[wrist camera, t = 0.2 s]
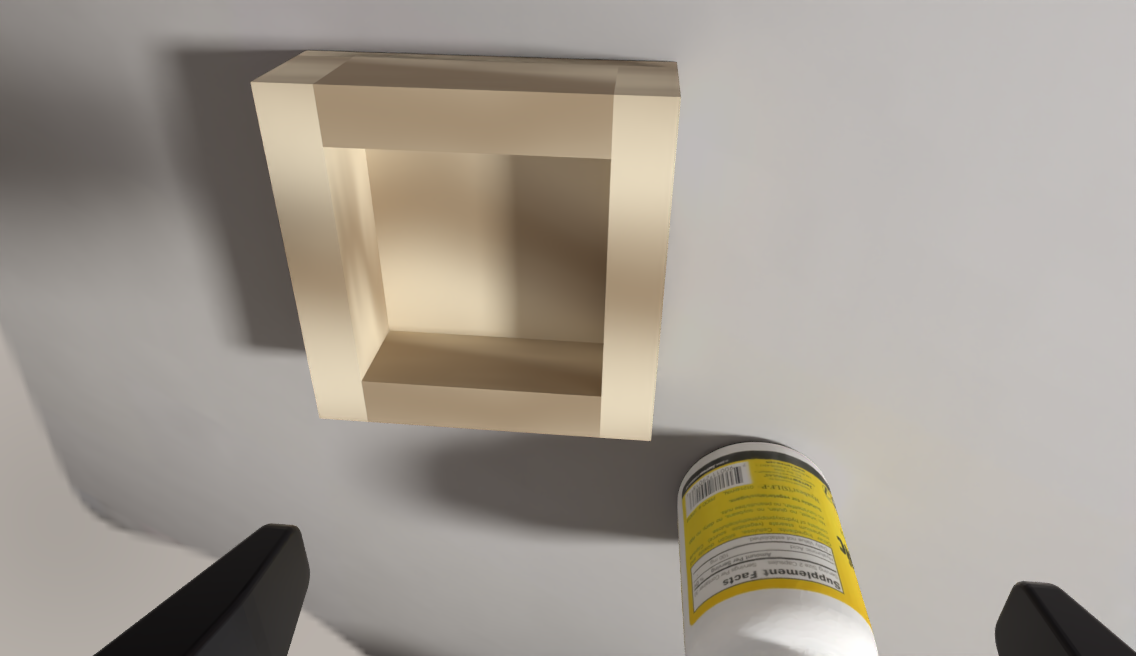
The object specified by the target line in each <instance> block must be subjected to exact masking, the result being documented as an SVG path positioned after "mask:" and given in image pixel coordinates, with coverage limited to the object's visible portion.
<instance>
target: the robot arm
mask: <svg viewBox="0 0 1136 656" xmlns="http://www.w3.org/2000/svg"><path fill="white" fill-rule="evenodd" d="M309 579H310V568H309V563H308V559H307V555H306V551H305V547H304V543H303V539H302V534H301V532H300V530H299V528H298V527H297V526H294V525H285V524H266V525H264V526H262V527H261V528H259V529H258V530H257V531H255V532H254V533H253V534H251V535H250V536H249V537H247V538H246V539H245V540H244V541H242V542H241V543H240V544H238V545H237V546H236V547H234V548H233V549H232V550H230V551H229V552H228V553H227V554H225V555H224V556H223V557H221V558H220V559H219V560H217V561H216V562H215V563H213V564H212V565H211V566H210V567H208V568H207V569H206V570H204V571H203V572H202V573H200V574H199V575H198V576H197V577H195V578H194V579H193V580H191V581H190V582H189V583H187V584H186V585H185V586H183V587H182V588H181V589H180V590H178V591H177V592H176V593H175V594H173V595H172V596H170V597H169V598H168V599H167V600H165V601H164V602H163V603H161V604H160V605H159V606H157V608H155V609H153V610H152V611H151V612H149V613H148V614H147V615H146V616H144V617H143V618H142V619H140V620H139V621H138V622H136V623H135V624H134V625H133V626H131V627H130V628H129V629H127V630H126V631H125V632H123V633H122V634H121V635H119V636H118V637H117V638H116V639H114V640H113V641H112V642H110V643H109V644H108V645H106V646H105V647H104V648H102V650H100V651H99V652H97V653H96V654H95V655H93V656H287V654H288V650H289V647H290V644H291V641H292V637H293V634H294V631H295V628H296V624H297V621H298V618H299V614H300V611H301V608H302V605H303V602H304V598H305V595H306V592H307V589H308V585H309ZM995 641H996V646H997V650H998V654H999V656H1136V652H1135V651H1134V650H1133V649H1132V648H1130V647H1129V646H1128V645H1127V644H1126V643H1124V642H1123V641H1122V640H1121V639H1120V638H1119V637H1117V636H1116V635H1115V634H1114V633H1113V632H1111V631H1110V630H1109V629H1108V628H1107V627H1106V626H1104V625H1103V624H1102V623H1101V622H1100V621H1099V620H1097V619H1096V618H1095V617H1094V616H1093V615H1091V614H1090V613H1089V612H1088V611H1087V610H1086V609H1084V608H1083V607H1082V606H1081V605H1080V604H1078V603H1077V602H1076V601H1075V600H1074V599H1073V598H1071V597H1070V596H1069V595H1068V594H1067V593H1066V592H1064V591H1063V590H1062V589H1060V588H1059V587H1057V586H1056V585H1053V584H1050V583H1041V582H1028V581H1021V582H1018V583H1017V584H1015V585H1014V586H1013V588H1012V590H1011V592H1010V594H1009V597H1008V599H1007V601H1006V603H1005V605H1004V608H1003V610H1002V612H1001V614H1000V616H999V619H998V621H997V624H996V628H995Z"/></svg>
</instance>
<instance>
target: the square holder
mask: <svg viewBox="0 0 1136 656" xmlns="http://www.w3.org/2000/svg"><path fill="white" fill-rule="evenodd" d="M250 83H251V87H252V92H253V97H254V102H255V107H256V112H257V117H258V121H259V126H260V131H261V136H262V141H263V146H264V151H265V155H266V160H267V165H268V170H269V175H270V180H271V184H272V189H273V194H274V199H275V204H276V209H277V214H278V218H279V223H280V228H281V233H282V238H283V243H284V248H285V252H286V257H287V262H288V267H289V272H290V277H291V282H292V286H293V291H294V296H295V301H296V306H297V311H298V316H299V320H300V325H301V330H302V335H303V340H304V345H305V350H306V354H307V359H308V364H309V369H310V374H311V379H312V384H313V388H314V393H315V398H316V403H317V408H318V413H319V418H322V419H336V420H351V421H365V422H380V423H394V424H409V425H424V426H438V427H453V428H467V429H482V430H496V431H511V432H526V433H540V434H555V435H569V436H584V437H598V438H613V439H628V440H642V441H651V433H652V422H653V410H654V399H655V387H656V376H657V364H658V353H659V342H660V330H661V319H662V307H663V296H664V284H665V273H666V261H667V250H668V238H669V227H670V215H671V204H672V192H673V181H674V169H675V158H676V146H677V135H678V123H679V112H680V100H681V95H680V86H679V77H678V69H677V62H656V61H624V60H592V59H561V58H529V57H498V56H466V55H435V54H403V53H371V52H340V51H308V50H306V51H304V52H303V53H301V54H299V55H297V56H296V57H294V58H292V59H290V60H288V61H287V62H285V63H283V64H281V65H280V66H278V67H276V68H274V69H273V70H271V71H269V72H267V73H265V74H264V75H262V76H260V77H258V78H257V79H255V80H253V81H251V82H250Z"/></svg>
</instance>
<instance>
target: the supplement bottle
mask: <svg viewBox="0 0 1136 656" xmlns="http://www.w3.org/2000/svg"><path fill="white" fill-rule="evenodd" d="M677 510H678V534H679V555H680V573H681V592H682V610H683V627H684V645H685V656H878V652H877V647H876V643H875V639H874V635H873V631H872V628H871V624H870V621H869V618H868V615H867V611H866V608H865V605H864V601H863V598H862V595H861V591H860V588H859V585H858V581H857V578H856V575H855V571H854V567H853V564H852V561H851V558H850V554H849V551H848V548H847V545H846V541H845V538H844V535H843V531H842V528H841V524H840V521H839V517H838V514H837V510H836V507H835V503H834V500H833V497H832V494H831V491H830V488H829V486H828V483H827V481H826V479H825V477H824V475H823V473H822V472H821V470H820V469H819V468H818V467H817V466H816V465H815V464H814V463H813V462H812V461H811V460H810V459H809V458H807V457H806V456H804V455H803V454H801V453H799V452H797V451H795V450H793V449H790V448H787V447H785V446H781V445H777V444H772V443H764V442H746V443H738V444H733V445H729V446H726V447H723V448H720V449H718V450H715V451H713V452H712V453H710V454H708V455H706V456H705V457H703V458H702V459H700V460H699V461H698V462H697V463H696V464H694V465H693V466H692V468H691V469H690V470H689V471H688V473H687V474H686V476H685V477H684V479H683V481H682V483H681V486H680V489H679V492H678V503H677Z"/></svg>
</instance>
